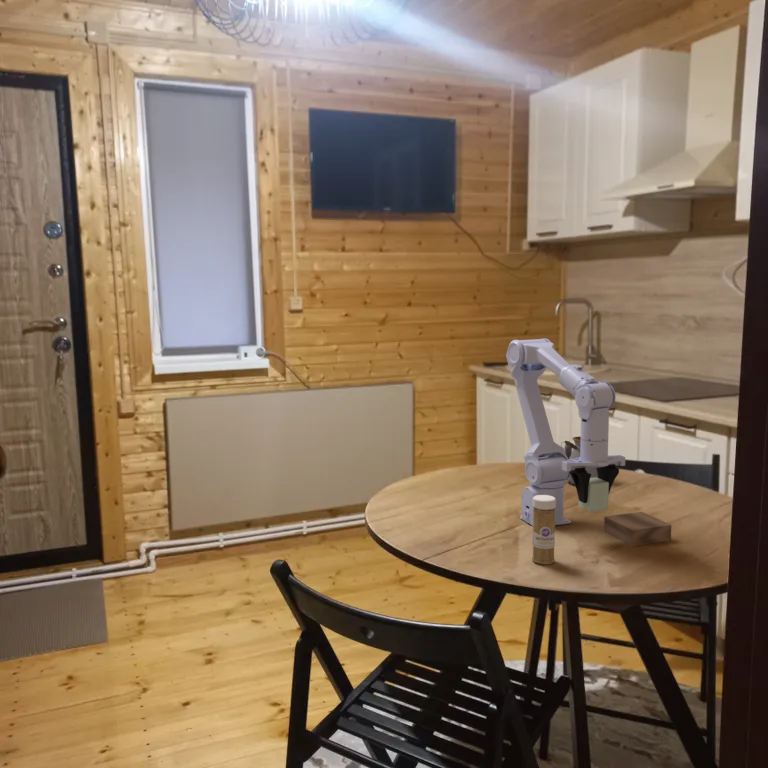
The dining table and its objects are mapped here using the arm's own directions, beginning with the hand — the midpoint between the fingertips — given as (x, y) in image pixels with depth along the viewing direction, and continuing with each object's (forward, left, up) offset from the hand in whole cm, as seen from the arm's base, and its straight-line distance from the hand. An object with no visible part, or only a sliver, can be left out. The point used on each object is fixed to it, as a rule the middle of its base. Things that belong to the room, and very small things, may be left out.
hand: (593, 500), depth 153 cm
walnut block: (+12, 0, -9) cm, 15 cm away
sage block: (0, 0, -2) cm, 2 cm away
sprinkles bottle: (-15, -6, -10) cm, 19 cm away
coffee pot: (+22, +39, -10) cm, 46 cm away
